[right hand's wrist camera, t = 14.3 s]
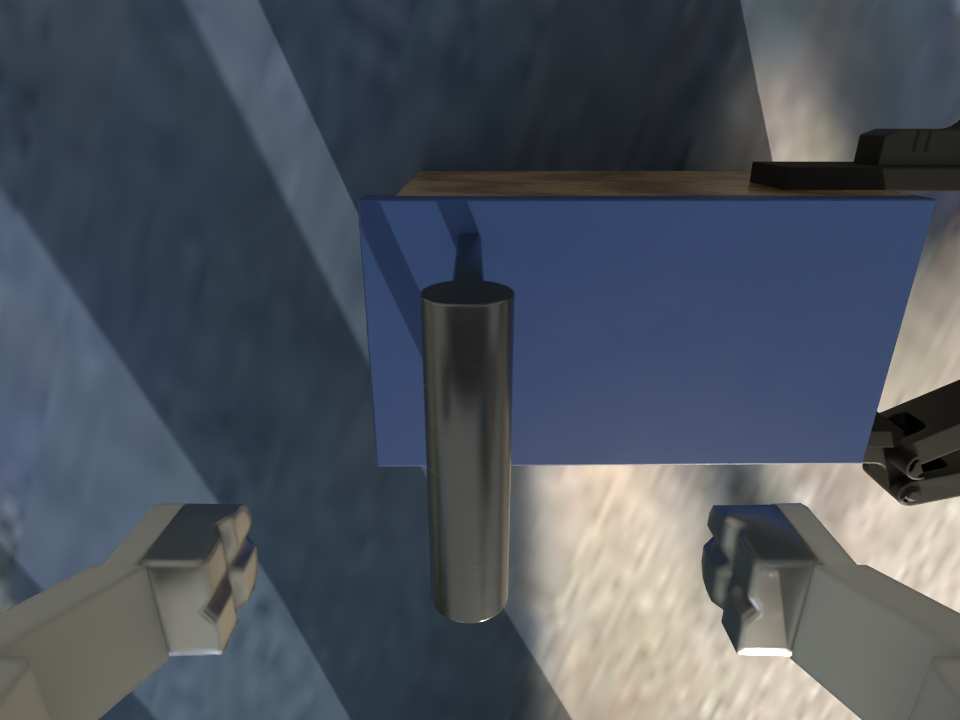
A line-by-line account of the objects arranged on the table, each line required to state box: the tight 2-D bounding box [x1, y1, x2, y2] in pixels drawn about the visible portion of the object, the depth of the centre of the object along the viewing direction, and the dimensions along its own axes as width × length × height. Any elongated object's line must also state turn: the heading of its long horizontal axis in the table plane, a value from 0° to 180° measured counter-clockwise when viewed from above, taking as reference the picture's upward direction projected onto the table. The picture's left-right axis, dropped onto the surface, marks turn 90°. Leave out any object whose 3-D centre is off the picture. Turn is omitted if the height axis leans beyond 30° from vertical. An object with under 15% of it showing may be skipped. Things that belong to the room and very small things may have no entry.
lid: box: [358, 195, 936, 623], centre depth 16 cm, size 17×9×9 cm, turn 90°
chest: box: [395, 171, 910, 196], centre depth 25 cm, size 16×9×9 cm, turn 90°
